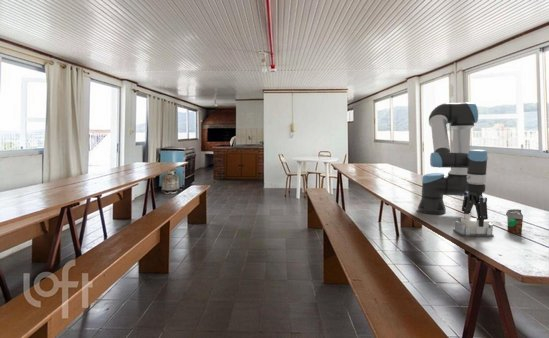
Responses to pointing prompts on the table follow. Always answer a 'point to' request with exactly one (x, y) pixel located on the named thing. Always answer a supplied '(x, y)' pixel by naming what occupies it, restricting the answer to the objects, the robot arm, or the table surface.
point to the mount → (465, 232)
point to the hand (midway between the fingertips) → (473, 229)
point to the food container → (514, 221)
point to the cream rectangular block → (474, 225)
